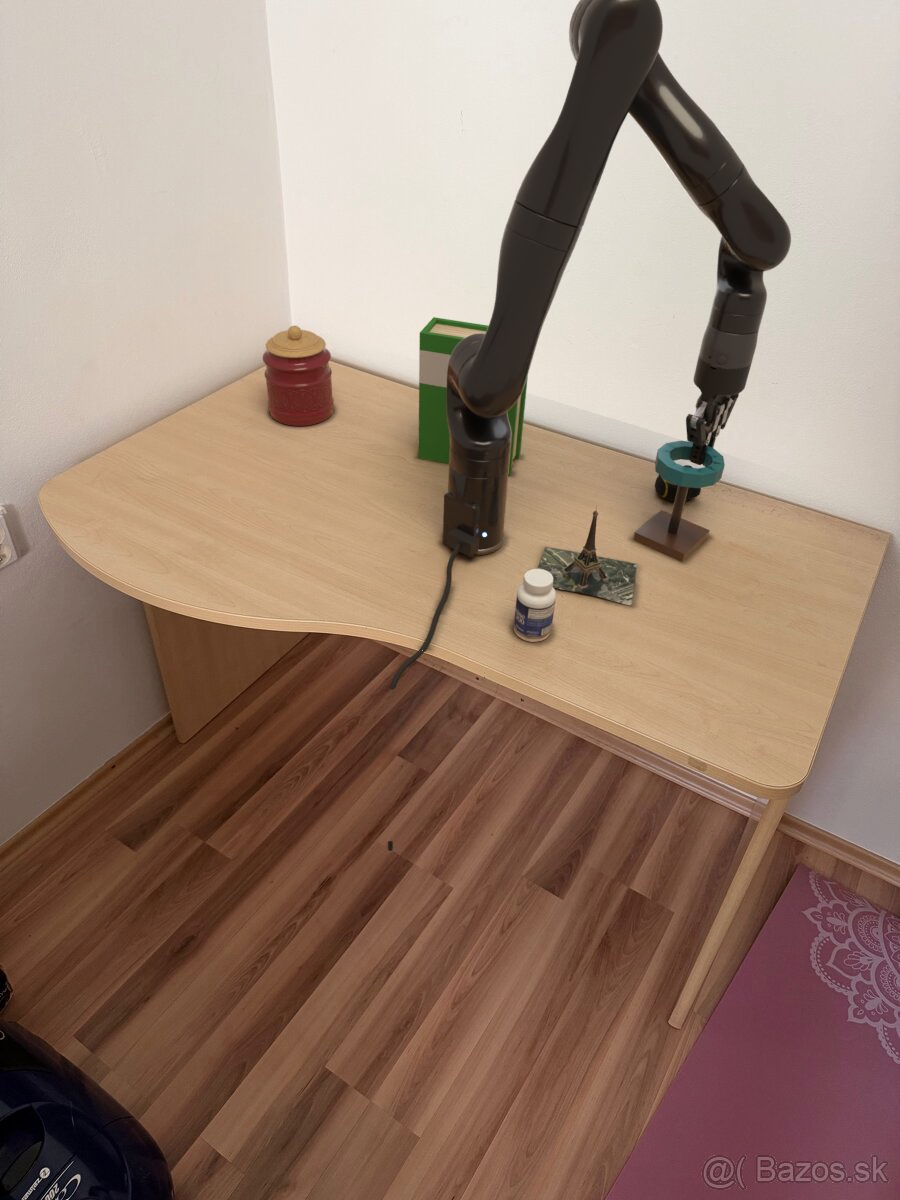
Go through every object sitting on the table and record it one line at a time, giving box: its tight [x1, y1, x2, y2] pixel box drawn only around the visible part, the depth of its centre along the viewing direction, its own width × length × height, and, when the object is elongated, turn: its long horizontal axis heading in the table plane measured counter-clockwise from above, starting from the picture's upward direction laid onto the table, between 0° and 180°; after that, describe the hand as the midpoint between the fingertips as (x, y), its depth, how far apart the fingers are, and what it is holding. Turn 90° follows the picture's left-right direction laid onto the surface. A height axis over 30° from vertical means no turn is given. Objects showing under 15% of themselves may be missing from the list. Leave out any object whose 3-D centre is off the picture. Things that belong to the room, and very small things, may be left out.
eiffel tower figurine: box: [537, 506, 638, 607], centre depth 126 cm, size 15×10×13 cm
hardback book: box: [417, 316, 529, 477], centre depth 149 cm, size 18×7×24 cm, turn 72°
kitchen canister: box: [262, 325, 335, 427], centre depth 163 cm, size 13×13×18 cm
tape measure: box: [654, 474, 702, 502], centre depth 147 cm, size 7×7×4 cm
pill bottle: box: [513, 568, 557, 643], centre depth 117 cm, size 5×5×10 cm
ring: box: [654, 440, 726, 489], centre depth 129 cm, size 10×10×2 cm
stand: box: [632, 464, 710, 562], centre depth 134 cm, size 9×9×14 cm
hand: (699, 459), depth 132 cm, fingers closed on ring, 2 cm apart
